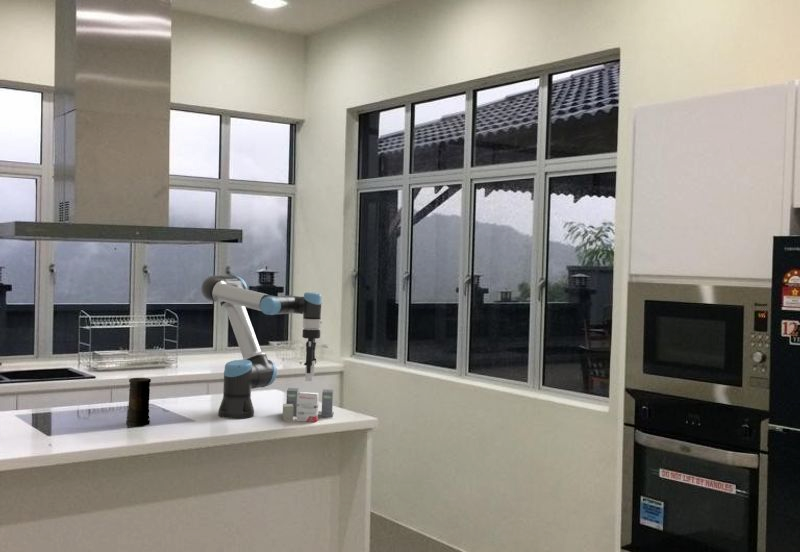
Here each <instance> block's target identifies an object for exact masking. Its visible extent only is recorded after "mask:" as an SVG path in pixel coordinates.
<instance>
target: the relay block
mask: <svg viewBox="0 0 800 552" xmlns="http://www.w3.org/2000/svg"><path fill="white" fill-rule="evenodd" d="M293 408H294V406H293V404H286V403H283V404H282V420H283V421H294V416H293Z"/></svg>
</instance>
